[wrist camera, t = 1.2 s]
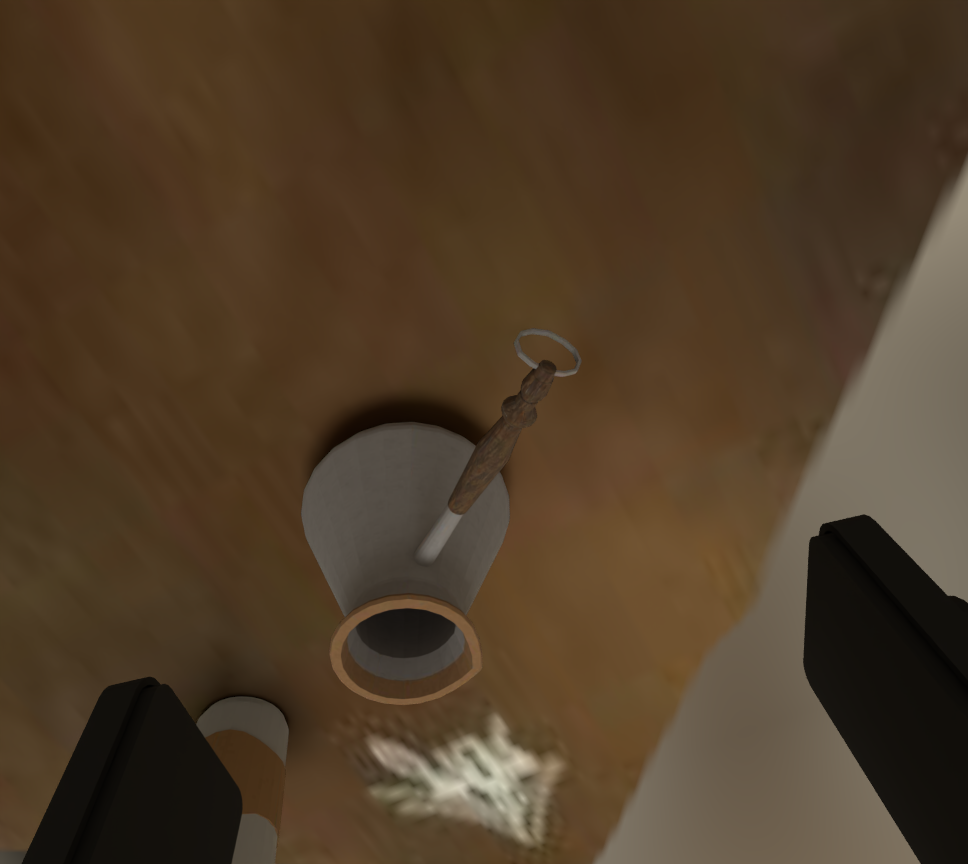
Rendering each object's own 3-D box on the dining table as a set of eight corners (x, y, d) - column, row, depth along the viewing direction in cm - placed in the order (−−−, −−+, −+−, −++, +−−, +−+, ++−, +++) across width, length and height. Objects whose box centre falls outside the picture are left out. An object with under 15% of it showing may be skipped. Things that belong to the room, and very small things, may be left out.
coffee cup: (191, 762, 50) (114, 1011, 37) (175, 684, 46) (83, 933, 33) (306, 759, 51) (270, 1000, 38) (301, 682, 47) (258, 923, 34)
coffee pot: (466, 579, 44) (488, 801, 31) (288, 539, 41) (230, 765, 28) (606, 271, 35) (721, 405, 22) (390, 193, 32) (373, 293, 19)
